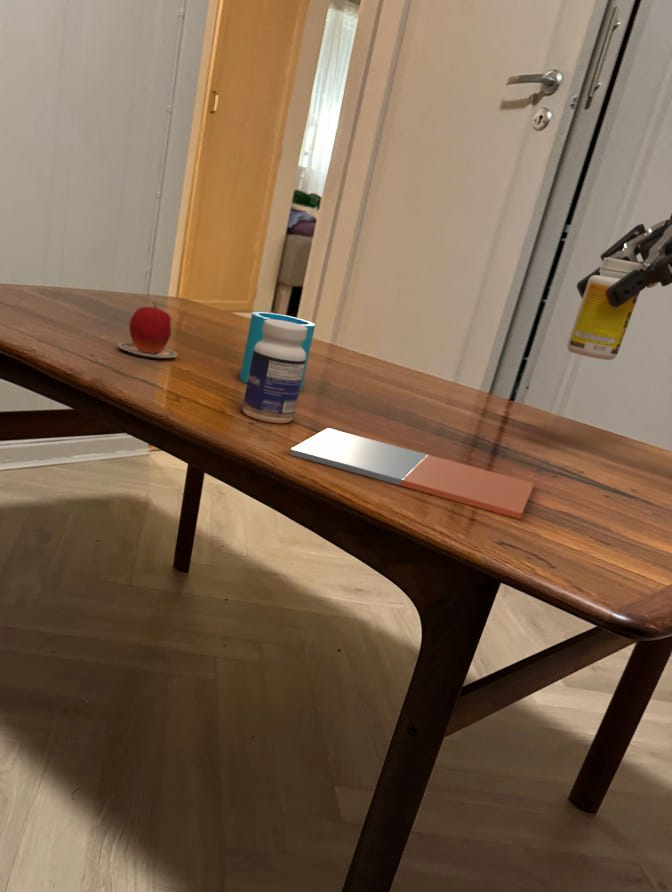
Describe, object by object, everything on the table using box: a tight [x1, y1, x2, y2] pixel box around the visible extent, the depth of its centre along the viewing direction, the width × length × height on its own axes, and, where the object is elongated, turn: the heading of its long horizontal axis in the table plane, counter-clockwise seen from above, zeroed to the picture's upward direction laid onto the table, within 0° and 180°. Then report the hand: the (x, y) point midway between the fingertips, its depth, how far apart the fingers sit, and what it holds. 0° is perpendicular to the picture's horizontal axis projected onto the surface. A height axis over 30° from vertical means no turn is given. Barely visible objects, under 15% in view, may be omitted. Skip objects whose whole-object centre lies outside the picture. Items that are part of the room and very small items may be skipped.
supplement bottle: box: [566, 258, 641, 361], centre depth 101 cm, size 6×6×10 cm
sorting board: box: [289, 427, 535, 520], centre depth 89 cm, size 22×13×1 cm, turn 66°
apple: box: [117, 301, 178, 360], centre depth 121 cm, size 8×8×6 cm
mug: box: [239, 311, 316, 392], centre depth 117 cm, size 12×8×8 cm
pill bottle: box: [242, 319, 307, 424], centre depth 97 cm, size 6×6×10 cm
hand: (595, 296), depth 101 cm, fingers closed on supplement bottle, 5 cm apart
